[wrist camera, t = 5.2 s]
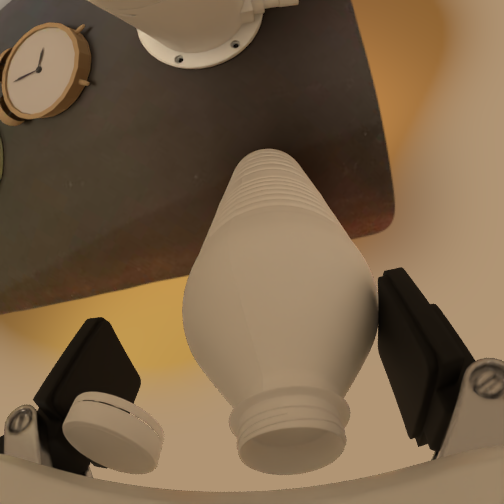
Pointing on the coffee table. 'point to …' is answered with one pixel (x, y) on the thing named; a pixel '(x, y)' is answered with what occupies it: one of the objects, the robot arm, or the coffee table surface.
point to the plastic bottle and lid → (261, 329)
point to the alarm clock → (43, 73)
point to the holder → (1, 158)
